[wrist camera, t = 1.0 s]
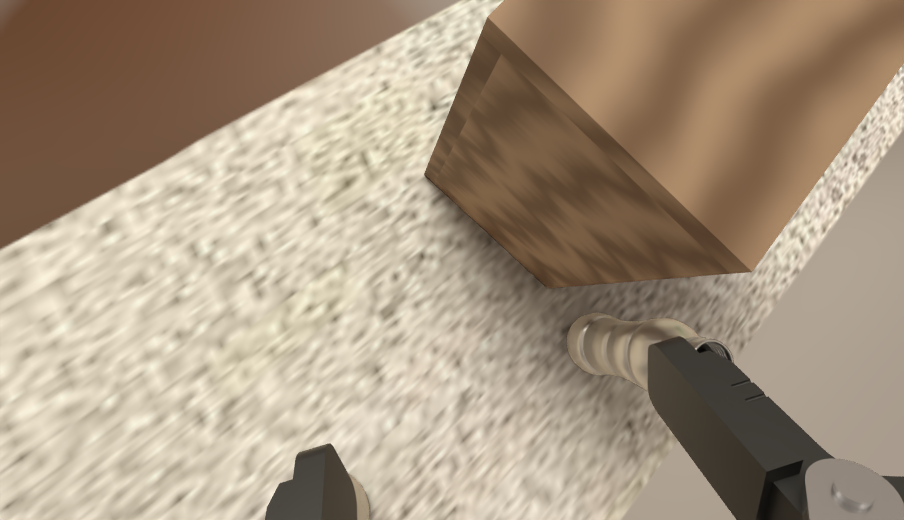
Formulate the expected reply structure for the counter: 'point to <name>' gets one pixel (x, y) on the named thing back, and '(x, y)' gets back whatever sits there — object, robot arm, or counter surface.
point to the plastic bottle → (628, 344)
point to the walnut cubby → (657, 127)
